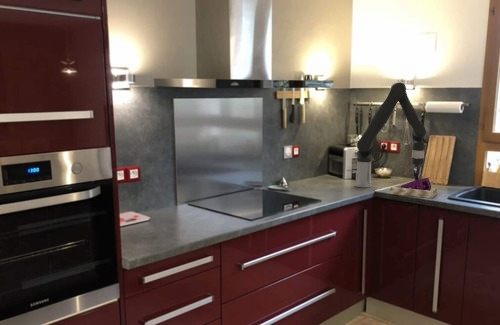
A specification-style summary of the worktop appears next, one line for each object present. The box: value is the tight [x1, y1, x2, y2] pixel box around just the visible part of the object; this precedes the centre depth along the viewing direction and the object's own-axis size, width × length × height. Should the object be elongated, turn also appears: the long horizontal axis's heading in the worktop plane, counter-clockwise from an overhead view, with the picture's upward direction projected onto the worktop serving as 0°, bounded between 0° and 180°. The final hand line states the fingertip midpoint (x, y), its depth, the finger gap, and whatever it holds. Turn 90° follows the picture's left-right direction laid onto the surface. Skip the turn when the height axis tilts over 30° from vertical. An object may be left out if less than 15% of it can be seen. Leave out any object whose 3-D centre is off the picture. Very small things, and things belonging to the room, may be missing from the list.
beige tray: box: [390, 186, 438, 199], centre depth 281 cm, size 25×14×4 cm, turn 59°
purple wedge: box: [400, 177, 432, 191], centre depth 289 cm, size 9×8×18 cm
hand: (416, 183), depth 296 cm, fingers closed
